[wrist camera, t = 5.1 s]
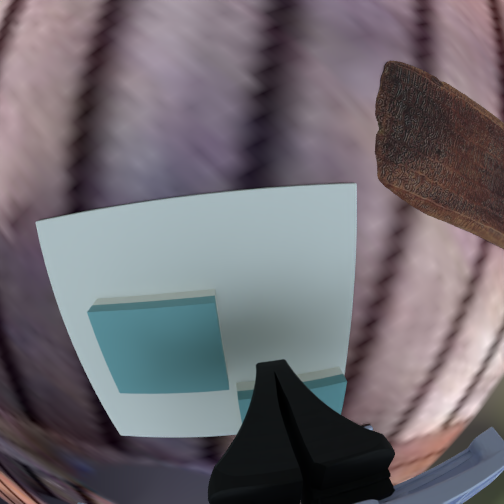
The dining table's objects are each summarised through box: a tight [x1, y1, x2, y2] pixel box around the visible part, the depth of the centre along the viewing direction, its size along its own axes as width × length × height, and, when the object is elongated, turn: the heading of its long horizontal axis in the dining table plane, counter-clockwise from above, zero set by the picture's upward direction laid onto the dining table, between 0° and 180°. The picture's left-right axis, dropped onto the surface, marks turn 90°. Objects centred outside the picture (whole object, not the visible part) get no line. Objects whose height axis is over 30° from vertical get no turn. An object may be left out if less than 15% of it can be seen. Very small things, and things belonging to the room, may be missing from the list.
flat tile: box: [236, 367, 347, 423], centre depth 18 cm, size 6×7×2 cm
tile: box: [87, 289, 229, 394], centre depth 15 cm, size 6×2×7 cm
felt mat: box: [36, 183, 357, 437], centre depth 17 cm, size 18×18×1 cm
